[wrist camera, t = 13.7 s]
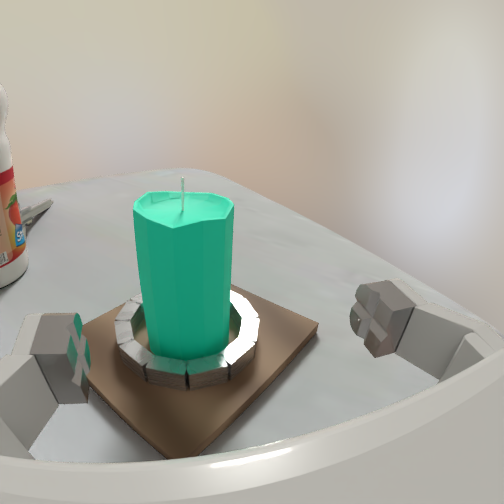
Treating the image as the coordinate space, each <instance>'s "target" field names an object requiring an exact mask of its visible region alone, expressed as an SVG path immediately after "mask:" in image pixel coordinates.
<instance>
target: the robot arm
mask: <svg viewBox="0 0 504 504" xmlns="http://www.w3.org/2000/svg"><path fill="white" fill-rule="evenodd" d="M355 297H356V299H357V302H356V303H355V304H354V306H353V307H352V308H351V312H350V325H351V327H352V330H353V331H354V332H355V334H356V335H357V336H359V337H361V338H363V339H364V345H365V346H366V348H367V349H368V350H369V351H370V353H371V354H372V355H373V356H374V358H377V357H380V356H384V355H388V354H391V353H395V352H396V353H395V354H397V355H398V356H400V357H402V358H403V359H405V360H407V361H408V362H410V363H412V364H413V365H415V366H417V367H418V368H420V369H422V370H423V371H425V372H427V373H429V374H430V375H432V376H434V377H435V378H437V379H439V382H438V383H437V384H436V385H434V386H432V387H430V388H428V389H426V390H424V391H421V392H419V393H417V394H415V395H413V396H410V397H408V398H406V399H403V400H401V401H399V402H396V403H394V404H391V405H389V406H386V407H384V408H381V409H379V410H376V411H374V412H371V413H368V414H366V415H363V416H360V417H357V418H355V419H352V420H349V421H346V422H343V423H340V424H337V425H334V426H331V427H327V428H324V429H321V430H318V431H314V432H311V433H307V434H304V435H300V436H296V437H293V438H289V439H285V440H281V441H277V442H273V443H268V444H264V445H259V446H255V447H250V448H245V449H240V450H234V451H229V452H223V453H217V454H210V455H204V456H196V457H188V458H180V459H170V460H159V461H146V462H126V463H74V462H55V461H42V460H35V459H34V457H33V456H32V455H31V454H30V453H29V452H28V450H29V449H30V447H31V446H32V444H33V443H34V441H35V440H36V438H37V437H38V435H39V434H40V432H41V431H42V429H43V428H44V427H45V425H46V424H47V422H48V421H49V419H50V418H51V416H52V415H53V414H54V412H55V411H56V409H57V408H58V406H59V405H58V404H80V403H88V390H89V383H88V380H87V378H86V375H87V374H88V373H89V372H90V366H91V360H90V350H89V345H88V342H87V338H86V337H85V336H83V335H82V334H81V332H82V326H83V325H82V322H81V319H80V315H79V314H78V313H44V314H42V313H41V314H28V315H26V316H25V318H24V321H23V323H22V326H21V328H20V331H19V334H18V336H17V339H16V342H15V345H14V347H13V350H12V353H11V355H5V356H4V357H3V358H2V359H1V360H0V504H504V339H503V338H502V337H501V336H500V335H499V334H497V333H496V332H495V331H494V330H493V329H492V328H491V327H490V326H489V325H488V324H485V323H483V322H480V321H478V320H475V319H472V318H470V317H467V316H465V315H462V314H460V313H457V312H455V311H452V310H449V309H447V308H444V307H442V306H439V305H436V304H434V303H428V302H427V301H425V300H424V299H423V298H422V297H421V296H420V295H419V294H418V293H416V292H415V291H414V290H413V289H412V288H411V287H410V286H408V285H407V284H406V283H405V282H404V281H403V280H401V279H398V278H394V279H389V280H385V281H380V282H374V283H368V284H362V285H360V286H359V287H358V289H357V291H356V294H355Z"/></svg>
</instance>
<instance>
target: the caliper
mask: <svg viewBox="0 0 504 504" xmlns="http://www.w3.org/2000/svg"><path fill="white" fill-rule="evenodd" d="M52 203H53V201H51V199H46V200H44V201H42V202H40V203H38V204H36V205H34V206H32V207H31V206H27V207H24V208H21V209H20V206H19V203H18V207H19V213H20V218H21V224H22V229H23V234H24V238H25V243H26V229H25V226H28V225H30V224H32V218H33V217H34V216H36V215H38V214H39V213H41V212H43V211H44V210H46V209H48V208H50V207H51V205H52Z"/></svg>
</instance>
